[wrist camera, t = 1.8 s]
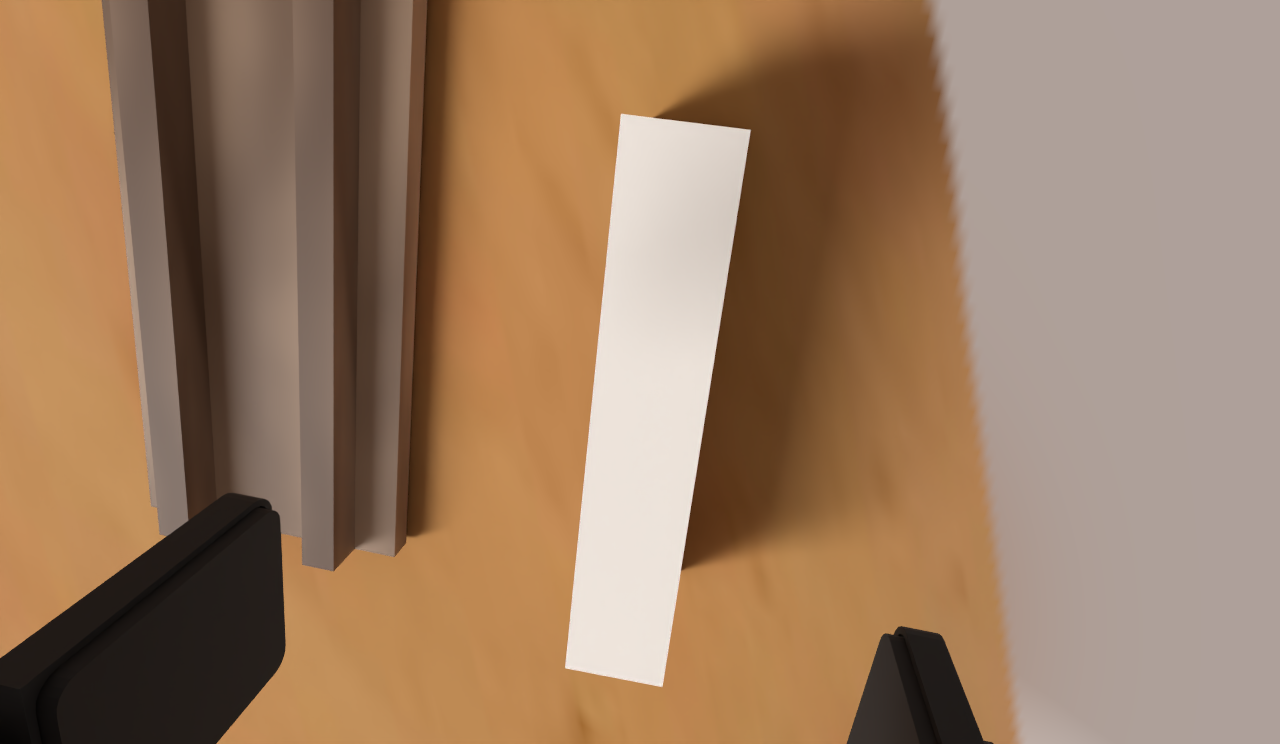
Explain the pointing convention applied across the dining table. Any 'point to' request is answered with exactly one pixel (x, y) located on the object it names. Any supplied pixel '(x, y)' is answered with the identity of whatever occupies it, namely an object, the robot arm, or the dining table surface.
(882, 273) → the dining table surface
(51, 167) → the dining table surface
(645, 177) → the white strip
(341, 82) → the walnut rack
